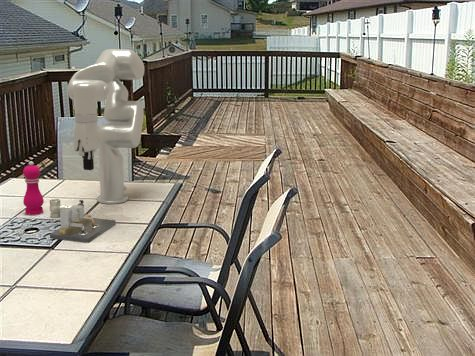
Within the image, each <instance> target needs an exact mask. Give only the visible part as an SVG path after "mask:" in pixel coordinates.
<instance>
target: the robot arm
mask: <svg viewBox="0 0 475 356" xmlns="http://www.w3.org/2000/svg"><path fill="white" fill-rule="evenodd" d="M144 76H145V65H144V62H143V60H142V59H141V58H140V56H139V55H138V54H137V53H136V52H135V51H134V50H132V49H128V48H126V49H125V48H124V49H123V48H107V49H105V50H103V51H102V52H101V54H100V55H99V57H98V58H97V60H96V61H95V63H94V64H91V65H88V66H87V67H84V68H82V69H80V70H78V71H77V72H75V73H73V75H72V77H71V78H70V80H69V81H68V84H67V95H68V97H69V99H71V100H72V101H73V103H74V121H75V123H74V130H73V132H74V133H73V148H74V151H75V152H78V156H79V157H81V159H82V165H83V167H82V168H83V169H82V170H85V171H92V170H94V169H95V168H94V167H95V165H94V164H95V163H94V158H95V152H96V151H97V148H98V162H99V165H98V166H99V191H100V193H99V194H100V195H98V196H97V197H96V201H97V202H98V203H100V204H105V205H116V204H122V203H126V202H127V201H128V200H129V196H128V195H127V194H125V192H126V190H127V189H128V187H127V186H126V185H125V180H124V179H125V177H124V176H125V175H124V174H125V173H124V170H125V169H124V156H123V154H122V152H121V151H120V150H119V149H121V148H122V149H134V148H137V147H138V146H139V145H140V142H141V138H142V132H143V131H142V130H143V124H144V114H145V113H144V107H143V106H144V105H143V104H142V103H141V102H139V101H136V100H129V91H128V89H127V87H126V86H125V85H124V84H123V83H122V82H121V81H120V80H127V81H128V80H130V81H133V80H134V81H138V80H141V79H143V77H144ZM97 102H105V104H104V111H103V117H104V120H105V122H106V123H102V124H100V125H98V104H97Z"/></svg>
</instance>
